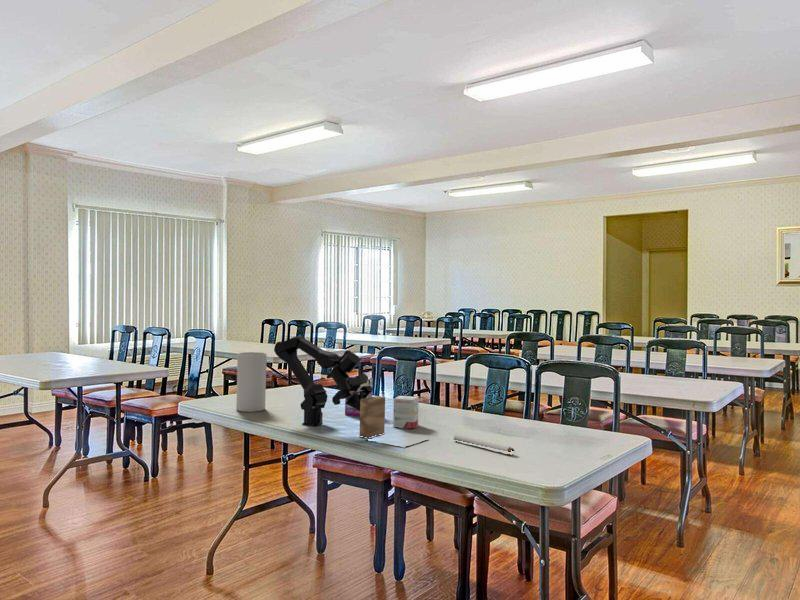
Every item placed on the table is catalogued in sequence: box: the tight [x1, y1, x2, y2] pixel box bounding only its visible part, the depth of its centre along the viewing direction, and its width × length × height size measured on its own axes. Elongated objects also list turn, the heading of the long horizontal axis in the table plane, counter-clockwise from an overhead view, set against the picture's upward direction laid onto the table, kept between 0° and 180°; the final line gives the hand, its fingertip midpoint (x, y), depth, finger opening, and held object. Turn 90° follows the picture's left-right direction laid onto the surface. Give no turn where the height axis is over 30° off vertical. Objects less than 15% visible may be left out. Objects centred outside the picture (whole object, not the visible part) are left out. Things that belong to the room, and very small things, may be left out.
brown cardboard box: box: [359, 395, 386, 439], centre depth 228 cm, size 4×10×14 cm, turn 145°
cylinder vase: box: [235, 351, 268, 413], centre depth 272 cm, size 12×12×25 cm
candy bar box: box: [344, 376, 374, 417], centre depth 266 cm, size 11×5×16 cm, turn 76°
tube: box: [453, 433, 515, 452], centre depth 213 cm, size 3×3×25 cm
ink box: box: [392, 395, 419, 429], centre depth 246 cm, size 9×9×12 cm
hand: (365, 412), depth 230 cm, fingers closed
